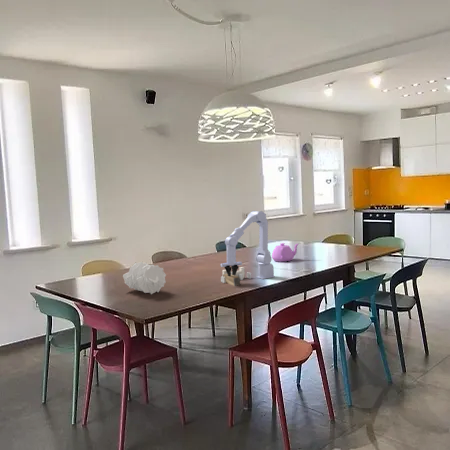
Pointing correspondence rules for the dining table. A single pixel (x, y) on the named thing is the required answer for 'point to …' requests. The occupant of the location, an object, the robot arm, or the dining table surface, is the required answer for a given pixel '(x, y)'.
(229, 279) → the rail
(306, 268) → the dining table surface
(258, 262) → the robot arm
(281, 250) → the teapot
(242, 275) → the white comb rack
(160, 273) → the white faceted lump
